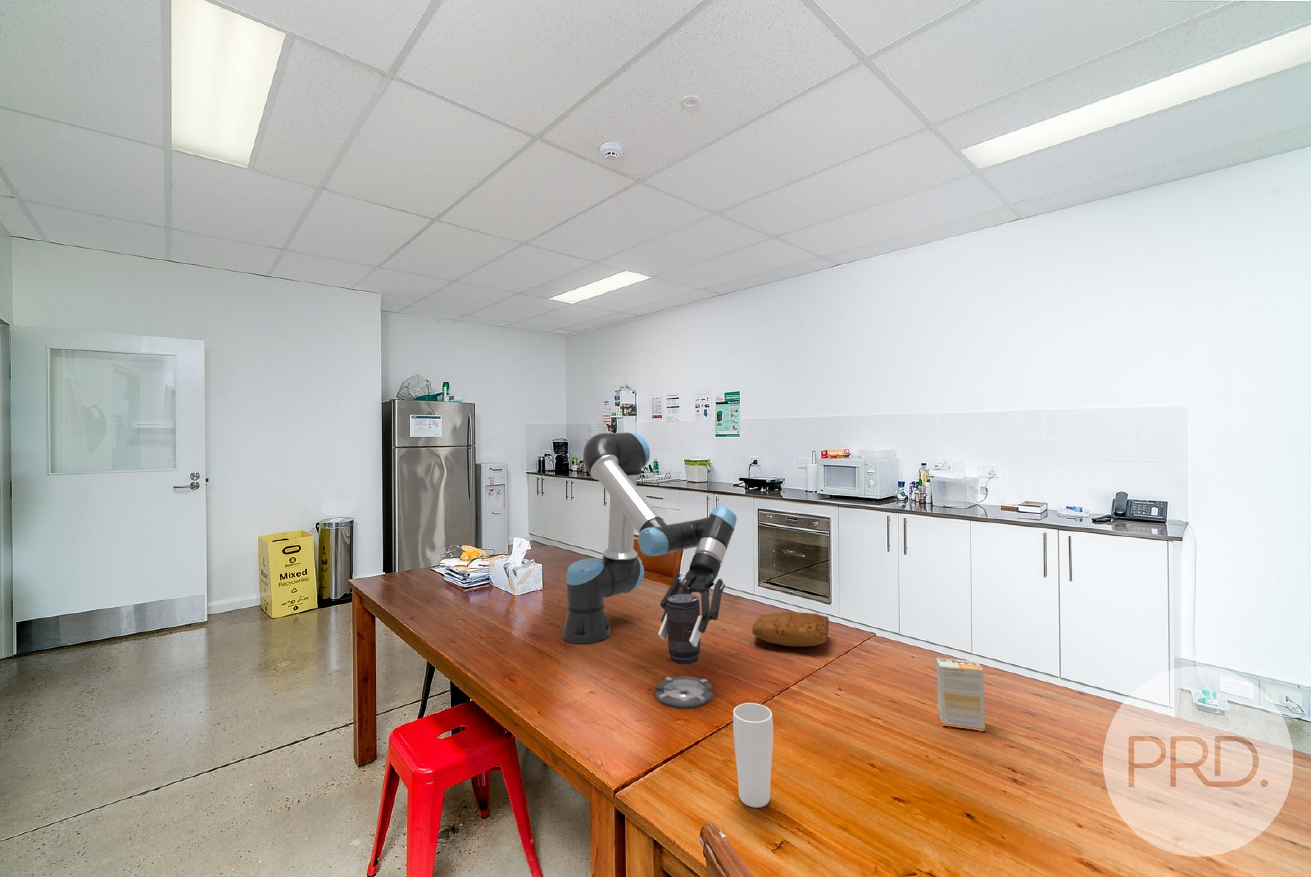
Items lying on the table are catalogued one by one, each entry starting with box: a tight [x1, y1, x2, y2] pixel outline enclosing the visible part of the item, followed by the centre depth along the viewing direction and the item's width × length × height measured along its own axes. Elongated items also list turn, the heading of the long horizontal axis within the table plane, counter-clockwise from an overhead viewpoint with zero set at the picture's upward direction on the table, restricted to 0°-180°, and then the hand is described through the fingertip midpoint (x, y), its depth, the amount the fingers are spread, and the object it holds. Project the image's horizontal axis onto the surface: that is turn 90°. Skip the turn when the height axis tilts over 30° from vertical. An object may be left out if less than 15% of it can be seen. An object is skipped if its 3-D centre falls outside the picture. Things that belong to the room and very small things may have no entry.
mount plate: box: [654, 675, 714, 709], centre depth 130 cm, size 14×14×2 cm
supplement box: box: [935, 657, 986, 731], centre depth 114 cm, size 8×5×13 cm, turn 71°
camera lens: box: [666, 594, 701, 666], centre depth 130 cm, size 8×8×15 cm
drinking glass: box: [732, 702, 774, 809], centre depth 92 cm, size 7×7×15 cm
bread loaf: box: [751, 611, 830, 647], centre depth 161 cm, size 22×17×8 cm
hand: (676, 640), depth 127 cm, fingers closed on camera lens, 8 cm apart
